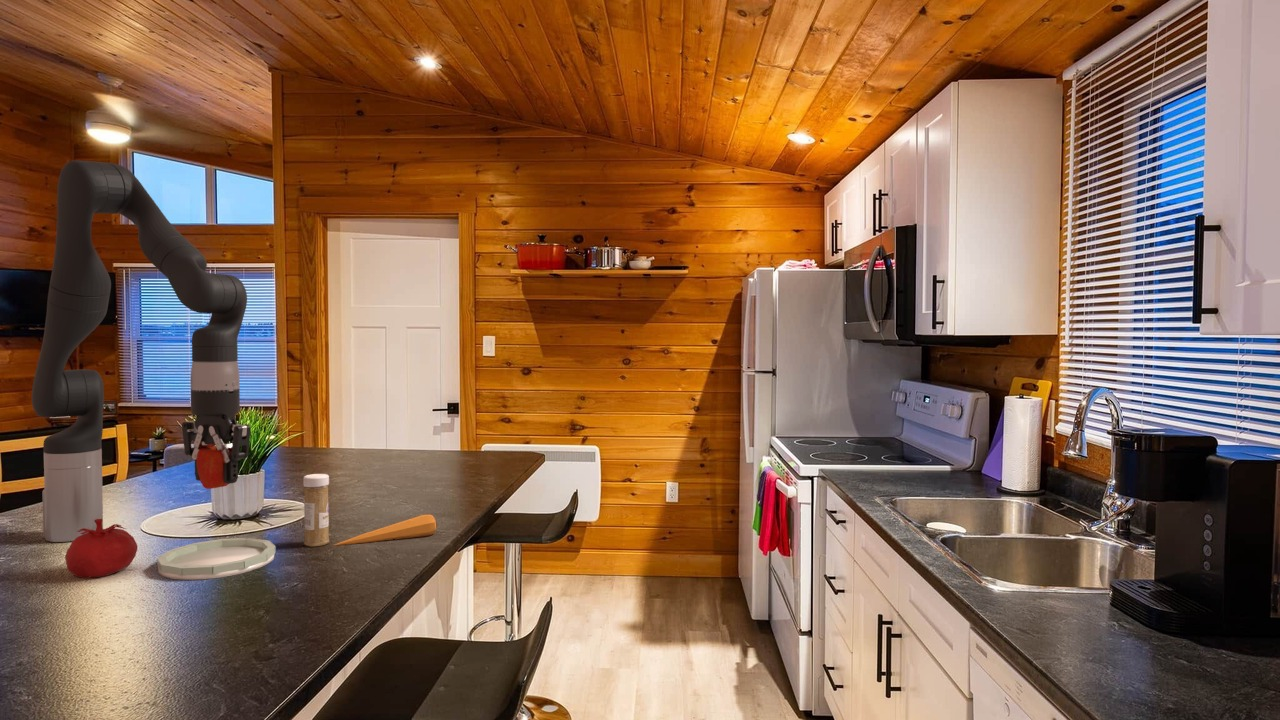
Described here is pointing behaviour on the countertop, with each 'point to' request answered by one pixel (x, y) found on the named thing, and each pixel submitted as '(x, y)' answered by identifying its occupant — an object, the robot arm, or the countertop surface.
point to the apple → (210, 467)
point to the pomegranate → (100, 551)
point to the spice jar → (316, 509)
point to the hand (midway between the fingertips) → (216, 481)
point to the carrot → (398, 531)
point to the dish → (215, 558)
